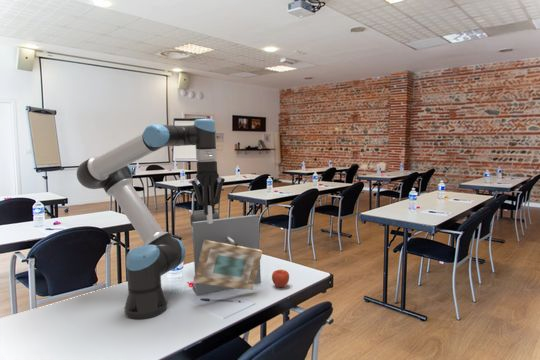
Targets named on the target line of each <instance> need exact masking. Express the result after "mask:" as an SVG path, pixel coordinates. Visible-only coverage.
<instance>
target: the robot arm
mask: <svg viewBox="0 0 540 360" xmlns="http://www.w3.org/2000/svg"><path fill="white" fill-rule="evenodd" d="M216 131H217V130H216V123H215V120H214V119H212V118H198V119H195V120H194V122H193V124H192V125H191V124H190V125H176V124H175V125H173V124H170V125H169V124H159V123H158V124H157V123H155V124H150V125H147V126H146V127H145V129H144V130H143V132H142V133H141V134H139V135H137V136H135V137H133V138H131V139H130V140H128V141H125V142H124V143H122V144H120V145H118V146H117V147H115V148H113V149H110V150H108V151H107V152H105V153H102V155H99V156H92V157H89V158H87V159H86V160H84V161H83V162H82V163H80V165H79V166H78V167H77V170H76V179H77V180H78V182H79V184H81V185H82V186H83V187H84V188H87V189H89V190H98V189H103V190H104V192H105V193H106V194H107V196H108V197H109V196H111V197H113V198H114V200H115V201H116V203H117V205H119V208H120V209H121V210H122V213H124V215H125V216H126V217H127V220H128V221H129V222H130V224H131V225H132V227H133V228H134V230H135V231H136V232H137V234H138V237H140V239H141V240H142V242H143V243H144V244H143V245H141V246H136V247H134V248H132V249H131V250H129V251H128V253H127V254H126V259H125V260H126V263H125V266H126V267H125V268H126V276H127V287H128V288H127V289H128V294H127V296H126V297H127V298H126V301H125V305H124V315H125V314H126V315H127V316H128V317H127V316H126V315H125V316H126V317H127V318H129V317H130V318H129V319H132V318H137V319H136V320H143V318H146V319H150V317H151V318H154V317H156V316H159V315H161V314H163V313H164V312H165V311H166V310H167V309H168V300H167V296H166V295H165V292H164V290H163V288H162V276H163V275H165V274H167V273H168V272H170V271H171V270H175V269H176V268H178V267H179V266H181V264H182V263H183V262H184V261H185V258H186V247H185V244H184V243H183V242H182V241H181V239H179V238H175V237H172V235H171V234H170V233H169V232H168V231H164V230H163V229H162V227H161V226H160V225H159V223H158V221H157V220H156V219H155V217H154V215H153V214H152V212H151V211H150V210H149V208H148V207H147V205H146V204H145V202H144V201H143V199H142V197H141V196H140V195H139V194H138V192H137V190H136V189H135V188H134V186H133V183H134V180H133V176H134V175H133V169H132V166H131V165H132V164H133V163H135V162H136V161H140V159H143V158H144V157H146V156H149V155H150V154H153V153H154V152H156V151H159V150H161V149H162V148H165V147H181V146H182V147H184V146H195V156H196V157H195V159H196V161H197V162H196V176H195V178H194V179H192V180H191V179H190V182H189V183H190V184H191V185H192V186H193V190H194V193H195V197H196V200H197V203H198V205H200V206H203V212H204V214H205V215H207V223H209V224H211V223H213V219H212V214H214V213H215V211H216V209H215V206H216V205H217V204H218V205H219V203H220V201H221V200H220V199H221V193H222V190H223V189H222V188H223V184H224V183H225V181H226V180H225V178H224V177H222V176H220V175H219V173H218V161H216V160H217V145H216V144H217V143H216V142H217V141H216V140H217V139H216ZM198 182H199V184H200V185H201V189H202V195H201V192H200V189H199V186H198ZM216 182H217V185H216V191H215V184H216ZM208 191H209V194H208ZM208 195H209V198H208ZM208 199H209V200H208ZM208 201H209V203H208ZM209 204H210V205H209Z"/></svg>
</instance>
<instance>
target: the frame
mask: <svg viewBox="0 0 540 360" xmlns="http://www.w3.org/2000/svg"><path fill="white" fill-rule="evenodd" d="M237 245H238V243H235V244H234V245H231V244H226V243H220V242H215V241H209V240H204V242H203V246H202V249H201V253H200V257H199V261H198V264H197V268H196V272H195V271H194V275H193V276H194V277H193V282H194V284H195V283H201V284H209V285H216V286H224V287H232V288H233V289H239V290H240V289H241V290H247V291H248V290H249V291H253V289H254V287H255V284H254V282H255V278H256V275H257V271H258V267H259V263H260V264H261V259H262V256H263V255H262V254H263V250H261V249H260V250H259V249H254V248H248V247H242V246H237Z"/></svg>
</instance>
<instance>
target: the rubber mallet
mask: <svg viewBox="0 0 540 360" xmlns="http://www.w3.org/2000/svg"><path fill="white" fill-rule="evenodd" d="M212 219H213V220H214V219H220V215H219V211H217V210H215V213H214V214H212ZM189 220H190V225H191V227H192V222H197V221H205V220H207V215H205V214H204V211H198V212H194V213H191V214H190V219H189Z"/></svg>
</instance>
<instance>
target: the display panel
mask: <svg viewBox="0 0 540 360" xmlns="http://www.w3.org/2000/svg"><path fill="white" fill-rule="evenodd" d="M259 217H260V216H259V215H258V214H249V215H242V216H232V217H231V216H230V217H225V218H219V219H214V220H213V223H211V224H209V223H207V220H205V221H197V222H192V226H191V227H192V229H191V230H192V244H193V263H194V264H193V265H194V266H193V267H194V273H195V272H196V268H197V264H198V261H199V257H200V253H201V249H202V246H203V242H204V240H209V241H215V242H220V243H226V244H231V245H234V244H235V243H238V245H237V246H242V247H248V248H254V249H259V250H261V248H260V223H259V222H260V220H259V219H260V218H259ZM261 275H262V274H261V262H260V263H259V267H258V271H257V275H256V278H255V282H254V285H258V284H261V282H262V281H261V280H262V279H261V278H262V277H261ZM192 289H193V291H194V293H195V294H196V296H201V295H207V294H212V293H217V292H222V291H227V290H233V289H234V288H232V287H224V286H216V285H209V284H201V283H195V282H194V283H193V284H192Z"/></svg>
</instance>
